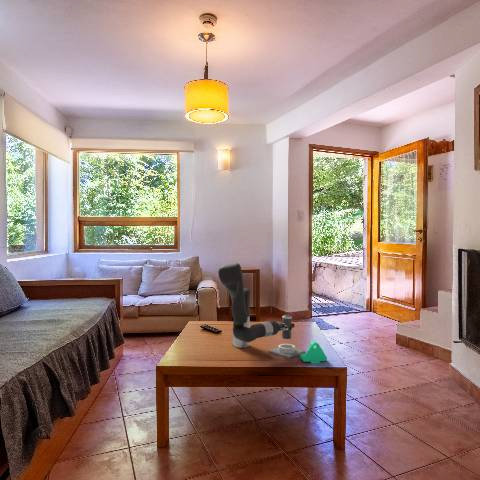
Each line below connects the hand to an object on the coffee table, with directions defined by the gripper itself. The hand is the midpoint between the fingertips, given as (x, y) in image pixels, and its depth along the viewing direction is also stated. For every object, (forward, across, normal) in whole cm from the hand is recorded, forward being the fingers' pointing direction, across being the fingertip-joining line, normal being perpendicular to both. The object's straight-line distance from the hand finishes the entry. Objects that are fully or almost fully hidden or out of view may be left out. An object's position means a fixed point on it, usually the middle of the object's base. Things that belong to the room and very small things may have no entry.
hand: (290, 324), depth 208 cm
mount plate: (-2, 0, +15) cm, 15 cm away
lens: (-3, 0, +7) cm, 7 cm away
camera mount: (-1, -17, +16) cm, 23 cm away
